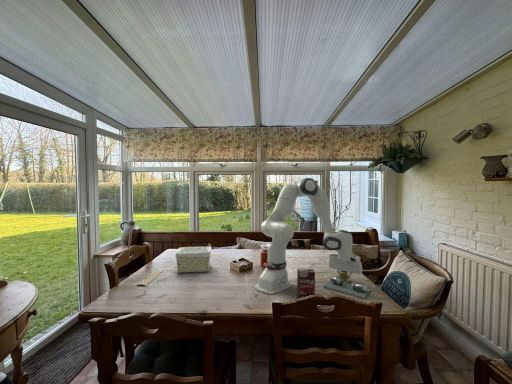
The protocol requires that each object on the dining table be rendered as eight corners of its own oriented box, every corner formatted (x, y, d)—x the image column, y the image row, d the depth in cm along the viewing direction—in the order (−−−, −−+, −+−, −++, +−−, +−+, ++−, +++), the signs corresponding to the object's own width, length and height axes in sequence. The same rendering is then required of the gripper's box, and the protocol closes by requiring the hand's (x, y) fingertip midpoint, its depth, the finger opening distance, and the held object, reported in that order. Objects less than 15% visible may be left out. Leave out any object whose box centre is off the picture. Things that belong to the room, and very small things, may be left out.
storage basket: (211, 264, 180) (211, 245, 179) (210, 272, 164) (210, 251, 163) (179, 266, 176) (179, 247, 176) (175, 274, 160) (174, 253, 160)
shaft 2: (368, 291, 132) (368, 283, 132) (366, 294, 128) (366, 286, 128) (354, 287, 137) (354, 280, 137) (352, 290, 133) (352, 283, 133)
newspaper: (145, 287, 141) (145, 284, 141) (134, 287, 141) (134, 284, 141) (162, 272, 165) (162, 270, 165) (153, 272, 165) (153, 270, 165)
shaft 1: (343, 285, 140) (343, 278, 140) (337, 286, 138) (338, 279, 138) (334, 280, 147) (334, 274, 147) (328, 282, 145) (328, 275, 145)
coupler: (346, 283, 145) (346, 272, 145) (340, 281, 148) (340, 270, 147) (349, 280, 149) (349, 270, 149) (342, 279, 152) (342, 268, 151)
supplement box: (298, 302, 121) (299, 272, 121) (296, 298, 126) (296, 269, 125) (315, 302, 121) (315, 272, 121) (312, 297, 126) (312, 268, 126)
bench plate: (364, 299, 125) (364, 297, 125) (323, 287, 139) (323, 285, 139) (370, 290, 135) (370, 289, 135) (331, 280, 149) (331, 279, 149)
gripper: (327, 254, 152) (326, 275, 152) (360, 260, 139) (360, 283, 139) (330, 252, 157) (330, 272, 157) (363, 257, 144) (362, 280, 144)
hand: (344, 277), depth 148 cm, fingers closed on coupler, 4 cm apart
